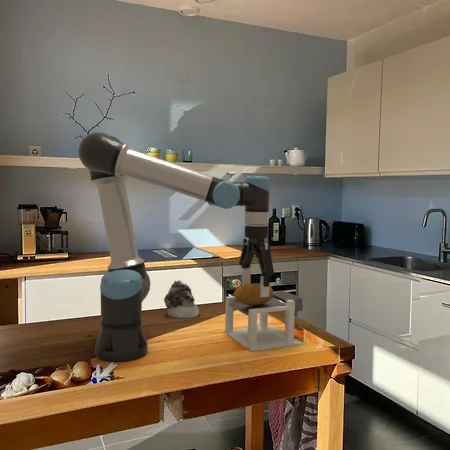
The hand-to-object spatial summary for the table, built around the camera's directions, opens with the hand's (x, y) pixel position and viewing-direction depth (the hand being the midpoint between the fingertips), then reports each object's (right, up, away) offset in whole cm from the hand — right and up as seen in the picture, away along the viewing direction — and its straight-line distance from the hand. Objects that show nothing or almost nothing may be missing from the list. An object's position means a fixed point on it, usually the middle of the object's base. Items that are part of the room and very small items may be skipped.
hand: (255, 292), depth 152 cm
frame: (+2, -15, +2) cm, 16 cm away
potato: (0, -4, 0) cm, 4 cm away
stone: (-26, -13, +28) cm, 41 cm away
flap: (+4, -7, +2) cm, 8 cm away
